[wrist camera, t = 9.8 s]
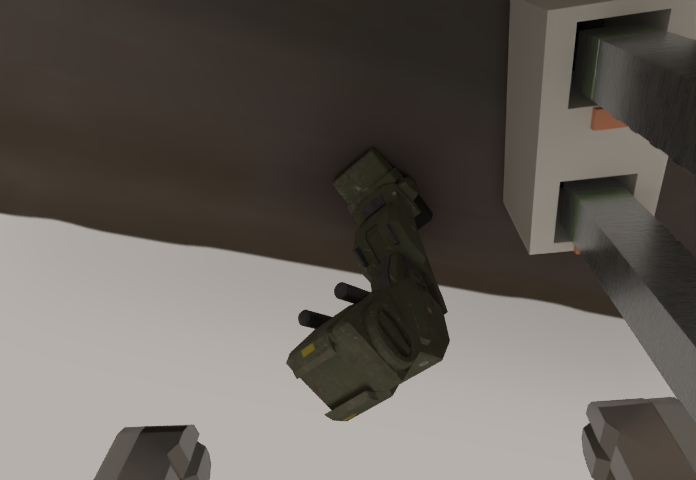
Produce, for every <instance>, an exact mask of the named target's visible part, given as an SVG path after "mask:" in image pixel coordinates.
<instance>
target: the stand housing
mask: <svg viewBox="0 0 696 480" xmlns="http://www.w3.org/2000/svg"><path fill="white" fill-rule="evenodd" d="M602 18H604V24H603V27H608V26H615V25H622V24H629V23H636V22H638V23H642V24H645V25H648V26H651V27H656V28H659V29H663V30H664V31H668V32H671V33H674V34H677V35H681V36H684V37H687V38H690V39H694V40H696V0H510V20H509V48H508V76H507V104H506V132H505V160H504V188H503V203H504V205H505V207H506V209H507V211H508V213H509V215H510V217H511V219H512V221H513V223H514V225H515V227H516V229H517V231H518V233H519V235H520V237H521V239H522V241H523V243H524V245H525V247H526V249H527V251H528V253H529V255H532V254H543V253H554V252H565V251H574V252H575V254H580V252H579V251H578V249H577V248H576V246H575V245H574V244H573V242H572V241H571V239H570V238H569V236H568V234H567V233H566V231H565V230H564V228H563V227H562V225H561V224H560V213H561V204H562V195H563V188H559V187H560V182H564V181H573V180H582V179H583V180H587V179H596V178H605V177H614V178H615V179H616V180H617V181H618V182H619V183H620V184H621V185H622V186H623V187H624V188H626V189H627V190H628V191H629V192H630V193H631V194H632V195H633V196H634V197H635V198H636V199H637V200H638V201H639V202H640V203H641V204H642V205H643V206H644V207H645V208H646V209H647V210H648V211H649V212H650V213H651V214H652V215H653V216H654V215H655V211H656V206H657V202H658V198H659V193H660V189H661V185H662V181H663V176H664V172H665V168H666V164H667V159H668V155H667V154H665V153H664V152H663V151H661V150H660V149H656V148H655V147H653V146H652V145H651V144H650V142H649V141H648V140H646V139H645V138H643V137H642V136H641V135H639V134H638V133H634V132H633V131H632V130H630V127H628V126H627V125H625V124H624V123H623V122H621V121H620V120H616V119H615V118H614V117H612V114H610V113H609V112H608V111H606V110H605V109H603V108H602V107H601V106H599V105H598V104H597V103H595V102H594V101H592V100H590V99H589V98H587V97H586V96H585V95H584V94H583V93H581V92H580V91H579V90H577V89H576V88H574V87H573V82H574V73H575V70H573V71H572V65H573V56H574V47H575V37H576V28H577V22H581V21H588V20H595V19H602Z"/></svg>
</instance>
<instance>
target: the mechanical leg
mask: <svg viewBox="0 0 696 480" xmlns="http://www.w3.org/2000/svg"><path fill="white" fill-rule="evenodd" d="M333 187H334V188H335V189H336V190H337V192H338V193H339V194H340V195H341V196H342V198H343V199H344V200H345V201H346V203H347V204H348V206H347V207H346V208H347V209H348V210H349V211H350V213H351V214H352V215H353V217H354V223H355V225H356V226H357V227H358V230H357V231H356V233H355V241H354V249H353V256H354V257H355V259H356V261H357V263H358V265H359V267H360V269H361V271H362V273H363V275H364V276H365V277H366V278H367V279H368V280H369V282H370V283H371V288H372V292H368V291H365V290H362V289H360V288H357V287H354V286H352V285H349V284H346V283H343V282H341V283H339V284H337V286H336V287H335V289H334V293H335V296H336V297H337V298H338V299H342V300H344V301H348V302H351V303H354V304H353V305H350V306H348V307H347V308H346V309H344V310H343V311H341V312H340V313H339V314H337V315H335V316H334V317H330V316H326V315H323V314H319V313H315V312H312V311H308V310H303V311H302V312H301V313H300V314H299V317H298V320H299V323H300V325H302V326H306V327H311V328H314V329H315V330H314V331H313V332H312V333H311V334H310V335H309V336H308V337H307V338H306V339H305V340H304V341H303V342H301V343H300V344H299V345H298V346H297V347H296V348H295V349H294V350H293V351H292V352H291V353H290V354H289V357H288V360H287V365H288V366H289V367H290V368H291V369H292V370H293V373H294V375H295V376H296V378H297V379H298V378H301V379H302V380H303V381H304V382H305V383H306V384H307V385H308V386H309V387H310V388H311V389H312V390H313V392H314V393H315V394H316V395H317V396H319V398H321V400H322V401H323V402H324V403H326V405H327V406H328V407H329V408H330V409H331V410H332V411H330V412H328V413H327V414H325V415H326V416H327V417H329V418H330V419H332V420H336V421H348V420H350V419H352V418H353V417H355V416H357V415H359V414H361V413H362V412H364V411H366V410H368V409H370V408H372V407H373V406H375V405H377V404H379V403H381V402H382V401H384V400H386V399H388V398H390V397H391V396H392V395H393V394H394V392H395V390H396V389H397V387H398V385H399V384H401V383H402V382H404V381H406V380H408V379H409V378H411V377H413V376H415V375H417V374H419V373H420V372H422V371H424V370H426V369H427V368H429V367H431V366H433V365H435V364H436V363H438V362H440V361H441V360H442V359H443V357H444V354H445V352H446V349H447V347H448V344H449V341H450V339H449V336H448V331H447V326H446V322H445V318H444V314H446V313H447V309H446V306H445V303H444V300H443V297H442V295H441V292H440V290H439V287H438V285H437V283H436V280H435V278H434V275H433V272H432V269H431V266H430V264H429V261H428V258H427V256H426V253H425V250H424V247H423V245H422V242H421V239H420V236H419V233H418V229H419V228H421V227H422V226H423V225H425V224H426V223H428V222H429V221H430V220H432V215H433V213H432V212H431V211H430V209H429V208H428V207H427V205H426V204H425V202H424V201H423V200H422V198H421V197H420V196H419V194H418V193H419V191H418V188H417V186H416V183H415V182H414V181H413V180H412V179H411V178H410V177H406V178H403V176H402V174H401V173H400V172H399V171H398V170H397V169H396V167H394V168H393V167H392V166H391V165H390V164H389V163H388V162H387V161H386V160H385V159H384V158H383V157H382V156H381V154H380V153H379V152H378V151H377V150H376V149H375V148H372V149H370V150H369V151H368V152H367V153H366V154H365V155H363V156H362V157H361V158H360V159H358V160H357V161H356V162H355V163H354V164H353V165H351V166H350V167H349V168H348V169H347V170H345V171H344V173H343V174H341V175H340V176H338V177H337V178H336V179H335V181H334V182H333Z"/></svg>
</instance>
